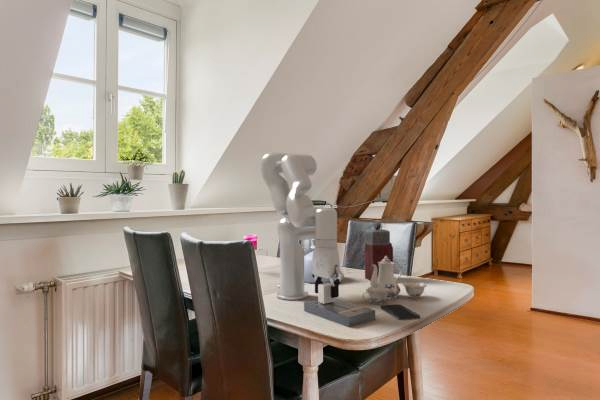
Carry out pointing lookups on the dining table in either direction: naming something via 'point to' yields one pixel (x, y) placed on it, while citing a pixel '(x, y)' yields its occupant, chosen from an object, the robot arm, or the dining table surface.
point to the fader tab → (325, 293)
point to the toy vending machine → (376, 248)
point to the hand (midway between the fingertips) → (326, 294)
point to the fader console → (340, 312)
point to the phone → (400, 312)
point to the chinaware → (389, 283)
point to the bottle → (308, 265)
